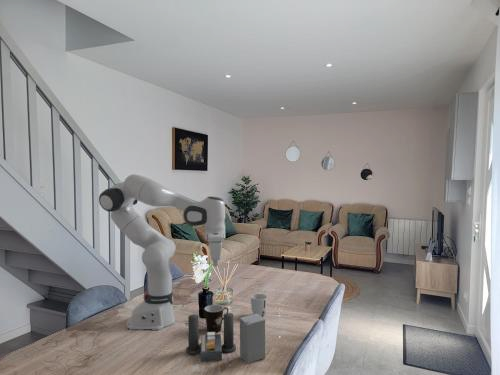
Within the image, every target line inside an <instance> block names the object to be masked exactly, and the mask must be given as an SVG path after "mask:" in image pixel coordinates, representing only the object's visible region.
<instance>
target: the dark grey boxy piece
mask: <svg viewBox="0 0 500 375" xmlns="http://www.w3.org/2000/svg"><path fill="white" fill-rule="evenodd" d="M206 343H207V334H201V339H200V347H201V352H200V362H201V363H202V362H213V361H214V362H216V361H217V362H218V361H223V351H222V345H223V344H222V334H221V333H215V348H212V349H208V350H207V346H206Z"/></svg>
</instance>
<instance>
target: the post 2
mask: <svg viewBox="0 0 500 375" xmlns="http://www.w3.org/2000/svg"><path fill="white" fill-rule="evenodd" d="M223 317H224V319H223V344H221V345H222V353H224V354H225V353H226V354H231V353H234V352H235V351H236V350H237V345H236V344H235V343H234V342H235V341H234V335H235V333H234V331H235V330H234V324H235V323H234V314H233V313H231V312H228V313H227V312H225V313H223Z"/></svg>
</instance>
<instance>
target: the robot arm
mask: <svg viewBox="0 0 500 375" xmlns="http://www.w3.org/2000/svg"><path fill="white" fill-rule="evenodd" d="M138 201H139V202H140V203H142V204H145V205H147V206H151V207H173V208H176V209H178V210H181V211H183V214H182V215H183V217H182V218H183V220H184V222H185V223H186V224H187V225H188V226H189V227H199V226H204V238H205V239H206V240H207V243H208V244H209V251H210V258H211V261H212V266H213V267H217V266H218V263H219V261H221V257H222V248H223V247H222V246H223V242H224V240H225V239H226V223H225V220H226V206H225V205H226V204H225V201H224V200H223V199H222V198H221V197H218V196H207V197H206V198H204V199H203V200H201V201H196V200H194V199H191V198H189V197H187V196H184V195H182V194H179V193H177V192H175V191H173V190H172V189H169V188H168V187H166V186H164V185H162V184H161V183H159V182H158V181H155V180H153V179H151V178H149V177H146V176H142V175H139V174H135V173H133V174H132V173H131V174H130V175H128V176H127V177H126V178H125V180H124V181H121V182H118V183H116V184H114V185H112V186H111V187H109V188H106V189H104V190H103V191H102V192H101V193H100V195H99V197H98V203H99V205H100V207H101V208H102V209H103V210H104V211H106V212H108V213H109V212H110V218H111V220H112V221H113V223H114V224H115V225H116V227H117V228H118V229H119V230H120V231H121V232H122V234H124V235H125V236H126V238H128V240H130V241H131V243H133V244H134V245H136V246H139V247H141V248H142V249H144V250H143V252H142V255H141V261H142V263H143V265H144V266H145V269H146V273H147V284H148V285H147V286H148V289H147V290H146V291H145V292H144V295H143V301H142V302H141V303H140V304H138V305H137V306H136V307H134V309H133V311H132V313H131V316H130V317H129V318H128V319H127V321H126V326H127V327H126V326H125V327H126V329H128V328H129V329H128V330H144V329H152V330H153V331H159V330H162V329H163V328H165V327H168V326H170V325H173V324H174V323H175V322H176V316H175V312H174V291H173V275H172V273H171V270H170V266H169V265H170V264H169V263H170V260H171V259H172V258H173V257H174V255H175V252H176V249H177V247H176V243H175V241H173V240H172V239H170V238H168V237H166V236H165V235H163V234H162V233H160V231H157V229H155V228H153V227H152V226H151V225H150V224H149V223H148V222H147V221H146V220H145V219H144V218H143V217H142V216H141V215H140V214H139V213H137V211H136V210H135V209H134V206H135V205H137V203H138ZM152 330H151V331H152Z"/></svg>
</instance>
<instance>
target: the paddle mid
mask: <svg viewBox="0 0 500 375" xmlns="http://www.w3.org/2000/svg"><path fill="white" fill-rule="evenodd" d="M211 341H214V343H215V336H214V337H207V342H211Z"/></svg>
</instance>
